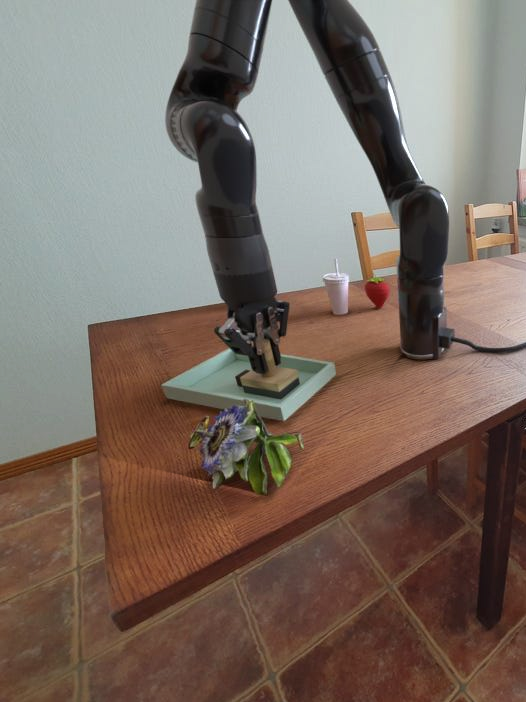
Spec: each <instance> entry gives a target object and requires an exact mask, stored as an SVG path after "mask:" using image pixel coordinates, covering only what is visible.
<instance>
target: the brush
mask: <svg viewBox="0 0 526 702" xmlns="http://www.w3.org/2000/svg"><path fill="white" fill-rule="evenodd" d="M252 346H254V343H253V342H252ZM262 346H263V353H264V354H265V358H266V362H267V366H268V370H269V371H268V372H267V373H266V374H259V373H256V372H254V371H253V370H251V371H250V372H248V373H246V374H245V375H243V376H242V377H240V379H241V383H242V386H243V389H244V393H249V394H254V395H260V396H265V397H271V398H276V399H282V398H284V397H285V396H286V395H287V394H288V393H290V392H291V391H292V390H293V389H295V388H296V387H297V386H298V385H300V382H299V377H298V372H297V370H296V369H290V368H284V367H278V366H276V365H275V361H274V357H273V353H272V349H271V344H270V341H269V340H268V339H263V340H262Z"/></svg>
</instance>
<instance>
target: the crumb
mask: <svg viewBox="0 0 526 702" xmlns="http://www.w3.org/2000/svg"><path fill="white" fill-rule="evenodd" d="M248 372H250V370H245V371H243V372H241V373H240V374H238V375H237V376H235V378H236V382H237V385H238V386H239V387H243V386H242V383H241V379H240V377H242V376H243V375H245V374H246V373H248Z"/></svg>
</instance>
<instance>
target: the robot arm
mask: <svg viewBox="0 0 526 702" xmlns="http://www.w3.org/2000/svg"><path fill="white" fill-rule="evenodd" d="M287 1H288V4H289V6H290V9H291V10H292V12H293V14H294V16H295V18H296V20H297V23H298V24H299V27H300V28H301V31H302V32H303V35H304V36H305V39H306V41H307V43H308V44H309V47H310V49H311V51H312V53H313V55H314V57H315V60H316V61H317V64H318V66H319V68H320V70H321V73H322V75H323V76H324V79H325V81H326V84H327V85H328V87H329V89H330V91H331V94H332V95H333V97H334V99H335V102H336V104H337V105H338V107H339V109H340V111H341V112H342V115H343V117H344V118H345V121H346V122H347V125H348V126H349V128H350V129H351V131H352V134H353V135H354V137H355V139H356V141H357V142H358V144H359V146H360V147H361V149H362V151H363V153H364V154H365V156H366V157H367V159H368V161H369V163H370V165H371V167H372V169H373V172H374V174H375V176H376V179H377V182H378V184H379V187H380V189H381V192H382V195H383V198H384V200H385V202H386V206H387V209H388V212H389V214H390V216H391V219H392V221H393V222H394V224H395V225H396V226H397V227H398V230H399V233H398V234H399V255H398V257H397V258H396V260H395V261H396V264H395V265H396V281H397V301H398V318H399V319H398V321H399V322H398V323H399V338H400V339H399V340H400V345H399V346H400V347H399V348H400V352H402V353H401V355H402V356H404V357H406V358H409V359H411V360H418V361H424V360H432V359H434V360H439V359H440V357H441V356H442V355H443V353H444V352H445V350H446V349H448V350H449V349H450V348H451V346H453V343H458V344H462V345H466V346H468V347H469V348H471V349H473V350H475V351H479V352H484V353H485V352H486V353H508V352H509V353H510V352H514V351H518V350H521V349H524V348H526V341H525V342H522V343H520V344H517V345H513V346H508V347H507V346H505V347H487V346H486V347H484V346H480V345H477V344H476V343H475V344H474V343H473V342H472V341H470V340H467V339H463V338H460V337H455V334H456V333H455V328H450V327H448V308H447V307H446V306H445V266H446V263H447V260H448V256H449V238H450V237H449V236H450V210H449V205H448V202H447V199H446V198H445V196H444V194H443V193H442V192H441V191H440V190H439V189H437V188H436V187H434V186H432V185H429V184H426V182H425V181H424V178H423V177H422V175H421V173H420V171H419V168H418V167H417V165H416V162H415V160H414V158H413V155H412V154H411V151H410V148H409V146H408V142H407V138H406V133H405V127H404V123H403V118H402V112H401V107H400V103H399V99H398V95H397V91H396V89H395V85H394V82H393V79H392V76H391V74H390V71H389V68H388V66H387V64H386V61H385V58H384V56H383V53H382V51H381V49H380V47H379V44H378V41H377V40H376V38H375V35H374V33H373V32H372V30H371V29H370V26H368V24H367V22H366V21H365V20H364V19H363V17H362V16H361V14H360V13H359V12H358V11H357V9H356V8H355V7H354V6H353V4H352V3H351V2H350V1H349V0H287ZM272 6H273V0H195V4H194V10H193V15H192V21H191V25H190V31H189V37H188V42H187V44H188V45H187V51H186V55H185V58H184V60H183V63H182V64H181V65H180V68H179V71H178V73H177V75H176V78H175V80H174V84H173V86H172V88H171V91H170V94H169V96H168V99H167V103H166V107H165V116H164V124H165V130H166V133H167V136H168V138H169V141H170V142H171V144H172V146H173V147H174V148H175V149H176V151H177V152H178V153H180V154H181V155H182V156H183V157H184V158H186V159H188V160H190V161H192V162H194V163H197V165H198V171H199V178H200V184H201V187H200V188H199V189H198V190H197V191H196V192H195V196H194V197H195V200H194V201H195V206H196V210H197V213H198V217H199V219H200V225H201V227H202V230H203V234H204V238H205V239H204V240H205V244H206V252H207V256H208V260H209V262H210V266H211V269H212V273H213V278H214V280H215V284H216V287H217V290H218V294H219V297H220V299H221V301H223V302H224V303H225V305H226V306H227V311H226V317H227V320H226V321H225V323H224V324H223V325H222V326H220V325H218V326H217V325H216V326H215V327H214V329H213V331H214V334H215V336H217V337H218V338H219V339H220V340H221V341H222V342H223V343H224V344H225V345H226V346H227V347H228V349H229V348H230V349H231V350H232V351H233V352H234V353H235V354H239V355H245V356H248V357H249V361H250V364H251V368H252V370H253V371H254V372H256V373H259V374H266V373H267V372H268V371H269V370H268V366H267V362H266V358H265V354H264V353H263V346H262V340H263V339H268V340H269V341H270V344H271V349H272V353H273V357H274V361H275V365H276V366H278V365H279V364H281V355H280V354H281V351H280V347H279V344H280V343H281V338H285V337H286V336H287V330H288V323H289V322H288V321H289V315H290V314H289V313H290V302H288V301H284V300H277V298H276V295H277V294H278V288H277V287H278V286H277V283H276V278H275V273H274V268H273V263H272V259H271V254H270V250H269V247H268V244H267V241H266V238H265V235H264V232H263V231H264V230H263V226H262V222H261V217H260V212H259V207H258V205H257V187H258V186H257V185H258V184H257V177H258V175H257V173H258V172H257V170H258V169H257V152H256V145H255V142H254V138H253V135H252V132H251V130H250V128H249V126H248V124H247V122H246V121H245V120H244V118H243V116H242V115H241V114H240V113H239V112H238V108H239V105H240V103H241V102H242V101H243V100H244V99H245V98H246V97H248V96H250V95H251V94H252V93H253V91H254V90H255V87H256V84H257V81H258V76H259V72H260V67H261V62H262V57H263V53H264V47H265V42H266V37H267V33H268V26H269V21H270V17H271V16H270V15H271V11H272ZM278 322H279V325H278ZM253 343H254V346H253Z"/></svg>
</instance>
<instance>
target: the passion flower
mask: <svg viewBox="0 0 526 702" xmlns="http://www.w3.org/2000/svg"><path fill="white" fill-rule="evenodd" d="M244 402H245V404H246V406H244V407H243V406H241V407H239V405H234V406H233V408H231V407H229V410H227V409H223V411H219V415H214V418H215V423H213V424H209V420H210V416H209V415H205V417H204V418H202V419H201V420H200V422H199V423H198V424H197V425H196V428H195V430H194V431H193V432H192V433H190V434H191V435H190V436H189V437H190V440H189V442H188V446H187V447H188V448H187V449H188V450H193V449H194V448H195V447H197V446H199V445H200V444H202V446H201V447H200V448H199V452H200V454H201V455H203V458H202V459H203V461H202V462H201V467H202V468H201V470H202V472H203V471H204V472H207V474H208V475H207V476H206V477H207V478H208V477H209V476H211V479H212V489H213V490H217V489H219V488H221V487H222V485H223V484H224V482H225V480H229V479H231V478H232V477H233V476H235V474H236V472H237V473H238V475H239V477H240V479H242V480H243V481H244V482H248V481H249V483H250V485H251V489H252V490H253V492H254V493H255V494H256V495H259V496H260V495H261V496H264V497H266V496H268V494H267V493H268V490H267V488H268V484H269V483H268V482H269V476H268V473H267V470H266V464H265V462H264V456H266V460H267V463H268V465H269V468H270V471H271V472H270V474H271V477H272V478H273V482H274V484H275V486H276V487H277V489H279V488H280V487H281V485H282V484H283V482H284V481H285V479H286V476H287V475H288V474H289V471H290V469H291V465H292V457H291V453H290V451H289V450H288V449H287V447H285V445H292V444H295V443H297V442H298V446H299V449H300V450H301V451H303V450H304V449H305V445H304V441H303V438H302V431H301V430H298V431H296V430H295V431H289V432H285V433H280V434H275V435H274V434H272V433H271V432H270V431H269V430H268V428H267V426H266V424H265V422H264V421H263V418H262V417H260V415H259V413H258V411H257V408H256V407H255V403H254V401H253V400H252V401H251V400H247V399H244ZM253 412H254V413H255V414H256V415H257V416H255V415H252V414H253ZM208 425H209V426H208ZM292 434H294V435H292ZM255 442H256V444H255V445H256V446H255V448H254V449H253V450H252V451H251V452H250V448H251V446H252V445H253V444H254V443H255ZM249 452H250V455H249ZM248 455H249V456H248Z"/></svg>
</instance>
